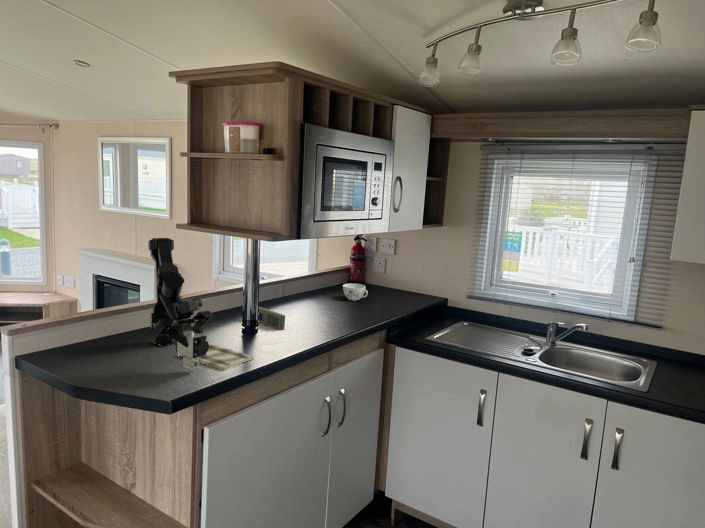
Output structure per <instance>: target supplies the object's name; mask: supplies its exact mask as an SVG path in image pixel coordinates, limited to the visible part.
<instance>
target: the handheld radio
mask: <svg viewBox="0 0 705 528" xmlns="http://www.w3.org/2000/svg"><path fill="white" fill-rule="evenodd" d="M258 309H259V315H258V321H259V322H258V324H261V325H264V326H268V327H270V328H272V329H275V330H278V331H284V330H285V326H286V325H285V323H286V314H282V313H279V312H276V311H273V310H270V309H268V308H265V307H261V306H259V308H258Z"/></svg>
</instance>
